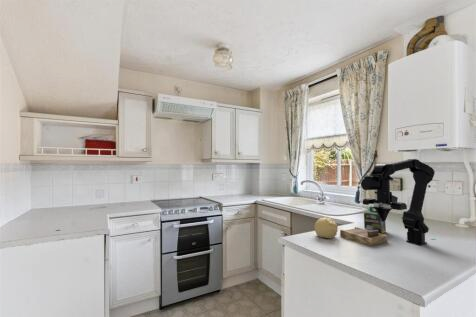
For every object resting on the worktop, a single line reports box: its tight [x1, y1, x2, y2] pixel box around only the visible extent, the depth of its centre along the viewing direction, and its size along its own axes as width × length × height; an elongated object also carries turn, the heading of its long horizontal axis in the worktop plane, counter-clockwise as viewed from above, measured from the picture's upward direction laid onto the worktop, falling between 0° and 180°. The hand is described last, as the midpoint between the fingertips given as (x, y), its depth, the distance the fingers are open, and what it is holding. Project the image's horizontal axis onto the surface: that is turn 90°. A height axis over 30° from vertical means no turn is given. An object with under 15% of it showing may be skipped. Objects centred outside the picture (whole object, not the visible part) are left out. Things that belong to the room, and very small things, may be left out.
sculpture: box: [314, 216, 339, 239], centre depth 131 cm, size 11×12×11 cm
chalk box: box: [363, 206, 387, 234], centre depth 140 cm, size 9×9×15 cm
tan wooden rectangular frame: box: [339, 226, 388, 247], centre depth 126 cm, size 18×13×4 cm
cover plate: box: [344, 227, 381, 238], centre depth 126 cm, size 15×10×4 cm, turn 26°
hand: (383, 221), depth 116 cm, fingers closed
